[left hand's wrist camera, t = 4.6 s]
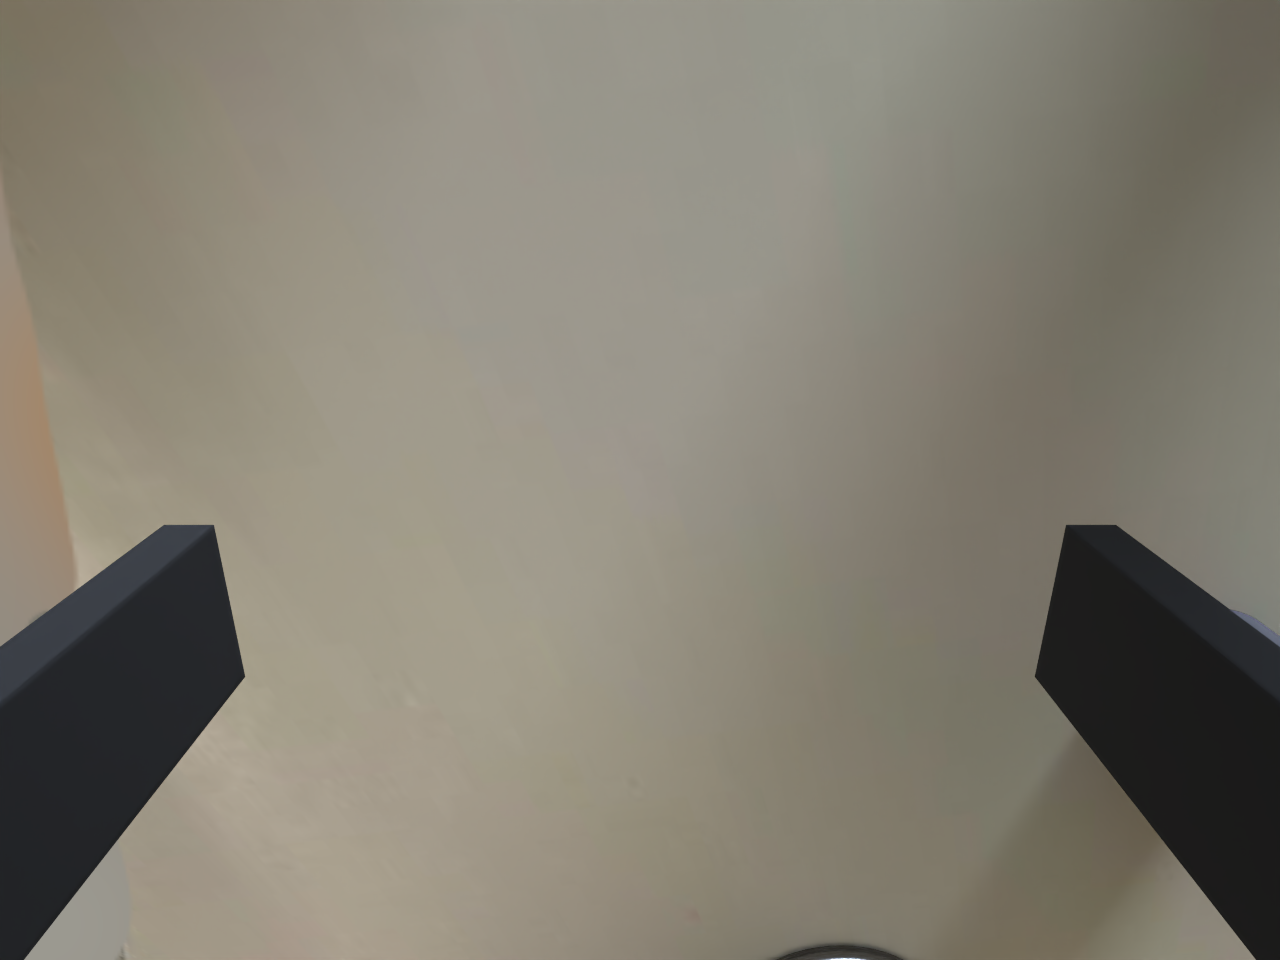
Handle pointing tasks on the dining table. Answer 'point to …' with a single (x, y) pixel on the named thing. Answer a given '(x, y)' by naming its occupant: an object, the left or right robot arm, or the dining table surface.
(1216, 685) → the left robot arm
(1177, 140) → the dining table surface
